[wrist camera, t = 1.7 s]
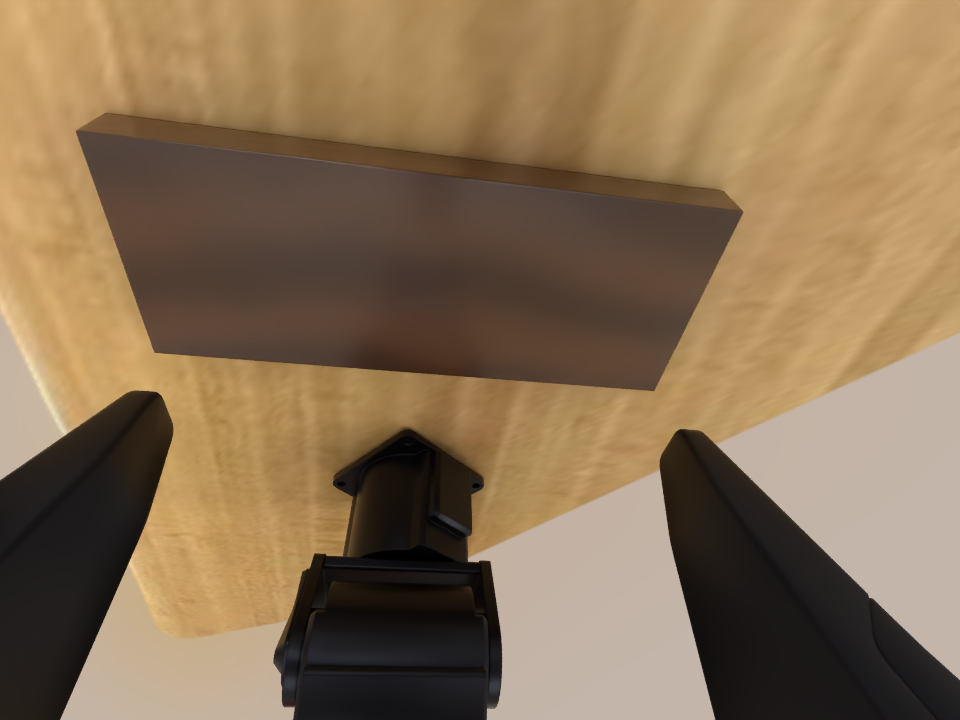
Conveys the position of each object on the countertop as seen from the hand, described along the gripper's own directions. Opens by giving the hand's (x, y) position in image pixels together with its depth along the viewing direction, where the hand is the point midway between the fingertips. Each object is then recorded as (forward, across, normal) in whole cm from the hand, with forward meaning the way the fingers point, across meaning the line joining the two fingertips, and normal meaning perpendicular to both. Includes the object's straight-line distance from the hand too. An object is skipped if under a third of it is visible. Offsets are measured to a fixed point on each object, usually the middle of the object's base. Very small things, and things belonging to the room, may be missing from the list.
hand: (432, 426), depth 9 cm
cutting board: (+12, 0, +5) cm, 13 cm away
